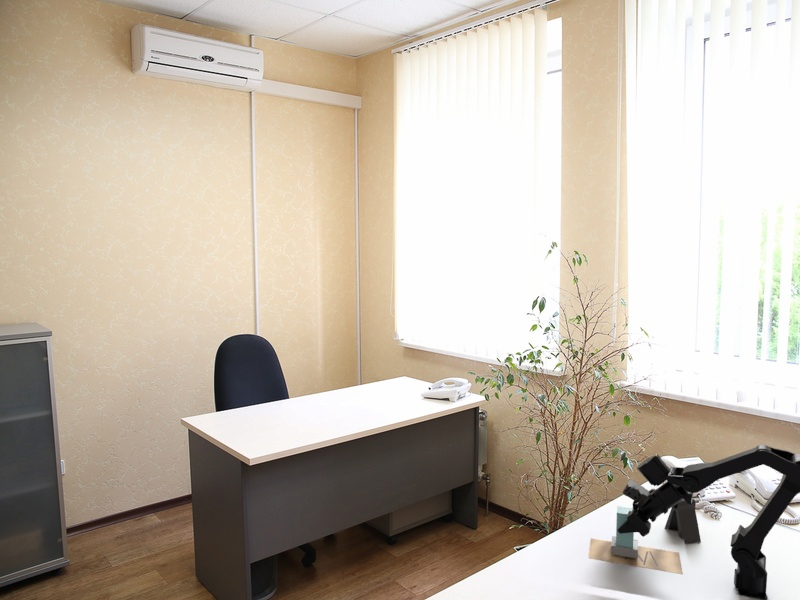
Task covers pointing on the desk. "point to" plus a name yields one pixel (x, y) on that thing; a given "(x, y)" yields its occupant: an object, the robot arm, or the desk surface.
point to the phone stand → (684, 521)
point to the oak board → (645, 557)
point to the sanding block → (624, 537)
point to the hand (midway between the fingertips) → (620, 528)
